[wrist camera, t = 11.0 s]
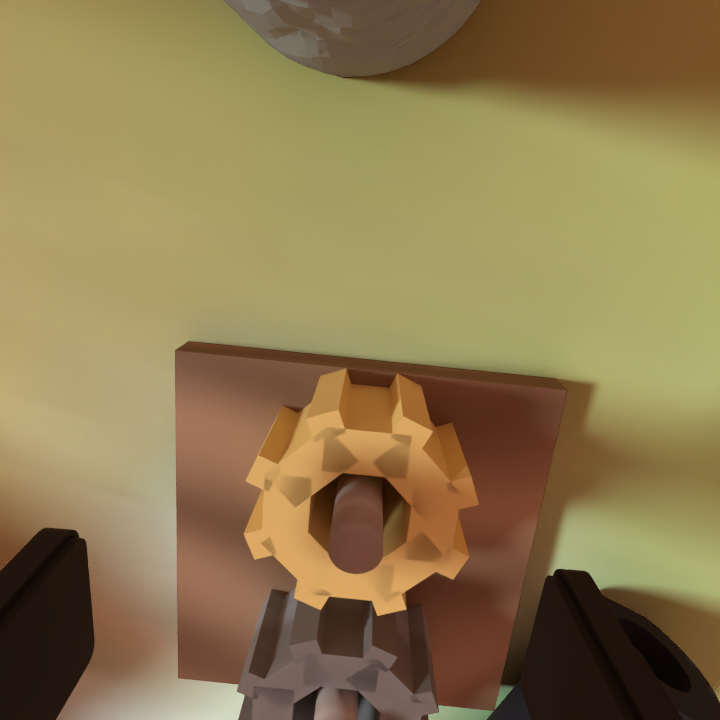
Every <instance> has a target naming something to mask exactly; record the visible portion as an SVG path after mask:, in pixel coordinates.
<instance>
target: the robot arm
mask: <svg viewBox="0 0 720 720" xmlns="http://www.w3.org/2000/svg"><path fill="white" fill-rule="evenodd" d="M93 650H94V629H93V617H92V605H91V593H90V581H89V569H88V558H87V546H86V541H85V540H84V539H82V538H79V535H78V533H77V531H75V530H68V529H56V528H44V529H42V530H40V531H39V532H38V533H37V534H36V535H35V536H34V537H33V538H32V539H31V540H30V541H29V542H28V543H27V544H26V545H25V546H24V548H23V549H22V550H21V551H20V552H19V553H18V554H17V555H16V556H15V557H14V558H13V559H12V560H11V561H10V562H9V563H8V564H7V565H6V566H5V567H4V568H3V569H2V570H1V571H0V720H56V718H57V717H58V715H59V713H60V712H61V710H62V708H63V706H64V705H65V703H66V701H67V700H68V698H69V696H70V694H71V693H72V691H73V689H74V688H75V686H76V684H77V682H78V681H79V679H80V677H81V676H82V674H83V672H84V671H85V669H86V667H87V665H88V664H89V662H90V659H91V657H92V654H93ZM521 688H522V693H523V697H524V700H525V703H526V706H527V709H528V712H529V715H530V718H531V720H683V719H682V717H681V716H680V714H679V712H678V711H677V709H676V708H675V706H674V704H673V703H672V701H671V699H670V698H669V696H668V695H667V693H666V691H665V690H664V688H663V687H662V685H661V683H660V682H659V680H658V679H657V677H656V675H655V674H654V672H653V670H652V669H651V667H650V666H649V664H648V662H647V661H646V659H645V658H644V656H643V655H642V654H641V653H640V651H639V650H638V649H636V648H635V647H634V646H633V644H632V642H631V641H630V639H629V638H628V636H627V634H626V633H625V631H624V629H623V628H622V626H621V624H620V623H619V621H618V620H617V618H616V616H615V615H614V613H613V611H612V610H611V608H610V607H609V605H608V603H607V602H606V600H605V598H604V597H603V595H602V593H601V592H600V590H599V589H598V587H597V585H596V584H595V582H594V580H593V579H592V577H591V576H590V575H589V573H588V572H586V571H578V570H566V569H557V570H556V571H555V572H554V575H553V576H547V578H546V580H545V583H544V586H543V590H542V594H541V598H540V602H539V606H538V610H537V614H536V618H535V622H534V626H533V630H532V634H531V637H530V641H529V645H528V649H527V653H526V657H525V661H524V665H523V669H522V673H521Z"/></svg>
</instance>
